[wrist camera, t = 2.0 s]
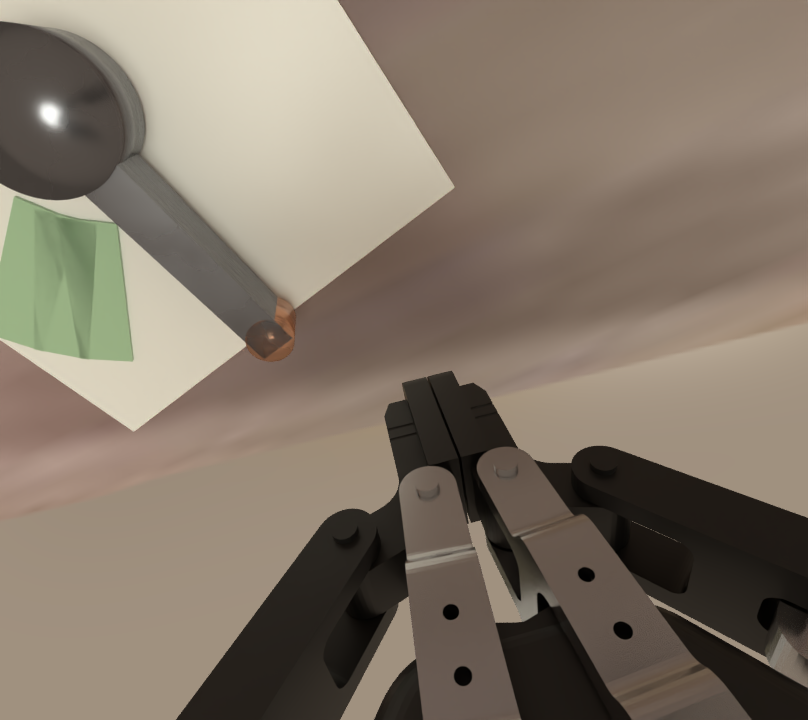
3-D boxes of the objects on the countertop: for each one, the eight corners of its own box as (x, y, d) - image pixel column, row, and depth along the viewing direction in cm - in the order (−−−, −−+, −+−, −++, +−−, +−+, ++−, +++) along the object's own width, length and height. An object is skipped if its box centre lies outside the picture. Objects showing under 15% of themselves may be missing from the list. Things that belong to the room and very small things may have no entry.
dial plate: (-34, -581, 12) (-81, -668, 10) (446, 180, 23) (456, 188, 21) (-439, -1, 16) (-515, -8, 14) (142, 413, 27) (132, 434, 25)
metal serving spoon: (-47, 92, 17) (-105, 97, 15) (51, -10, 16) (6, -22, 14) (249, 358, 24) (242, 391, 22) (329, 298, 23) (331, 325, 21)
